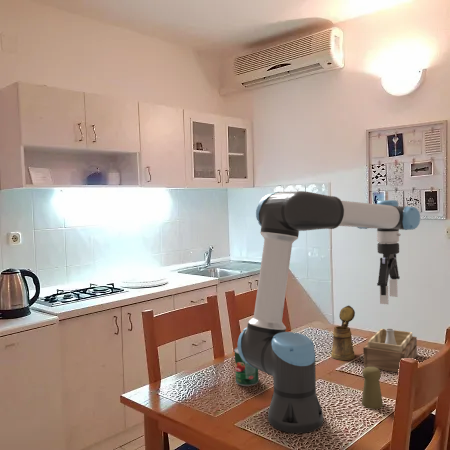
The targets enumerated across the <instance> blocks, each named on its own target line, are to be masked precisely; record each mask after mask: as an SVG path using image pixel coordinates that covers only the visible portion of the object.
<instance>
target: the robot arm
mask: <svg viewBox="0 0 450 450" xmlns="http://www.w3.org/2000/svg"><path fill="white" fill-rule="evenodd" d="M255 211H256V212H255V218H256V221H257V222H258V225H259V226H260V232H259V233H260V234H261V236H262V238H263V239H264V240H263V247H262V255H261V262H260V263H261V264H260V267H259V268H260V269H259V276H258V282H257V283H258V284H257V291H256V296H255V297H256V299H255V305H254V311H253V317H252V318H250V319H249V320H248V321H247V325H246V327H245V328H243V330H242V331H241V332H240V334H239V336H238V339H237V347H238V352H239V355H240V357H241V358H242V360H243V361H244V362H246V363H247V364H249V365H250V366H251V367H253V368H256V369H258V371H261V372H264V373H265V374H268V375H269V376H272V377H273V379H272V380H273V394H272V397H271V402H270V404H269V408H268V411H267V415H268V416H267V419H268V423H269V424H270V425H271V426H272V427H273V428H275V429H277V430H279V431H281V432H286V433H289V434H290V433H292V434H304V433H311V432H314V431H317V430H318V429H319V428H321V427H322V426H323V423H324V412H323V409H322V406H321V404H320V401H319V399H318V398H319V397H318V395H317V388H316V387H317V386H316V385H317V384H316V383H317V381H316V377H317V376H316V372H317V371H316V368H317V367H316V351H315V343H314V341H312V339H311V338H310V337H308V336H307V335H305V334H302V333H300V332H293V331H287V326H285V324H284V323H283V316H284V315H283V313H284V307H285V299H286V292H287V286H288V285H287V284H288V279H289V278H288V277H289V271H290V265H291V264H290V261H291V257H292V256H291V255H292V248H293V243H294V242H295V241H297V240H298V239H299V234H300V232H302V231H303V232H305V231H314V230H315V231H316V230H325V229H326V230H327V229H328V230H335V229H337V228H339V227H353V228H357V229H360V230H361V229H364V230H368V229H377V230H376V239H377V240H376V241H377V242H378V243H377V244H376V245H377V246H376V247H377V248H376V249H377V253H378V254H381V255H382V257H379V271H378V279H377V280H378V281H377V283H376V284H377V285H376V286H378V287H379V304H380V305H389V297H393V298H394V297H395V298H398V296H399V295H398V280H400V276H399V267H398V262H397V254H399V253H400V244H399V242H400V237H401V233H400V230H401V231H408V230H409V231H410V230H416V229H417V228H418V227H419V225H420V223H421V214H420V211H419V209H418V208H417V207H415V206H408V205H407V206H399V201H398V200H394V199H389V200H388V199H387V200H378V201H377V202H376V203H369V202H367V203H366V202H358V201H347V200H341V198H339V197H337V196H333V195H327V194H323V193H322V194H321V193H315V192H311V191H304V190H298V191H277V192H271V193H268V194H266V195H264V196H263V197H262V198H261V199H260V200H259V201H258V204H257V206H256V210H255ZM388 282H389V286H388Z"/></svg>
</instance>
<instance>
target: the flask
mask: <svg viewBox="0 0 450 450" xmlns="http://www.w3.org/2000/svg"><path fill="white" fill-rule="evenodd" d="M385 329H386V331H387V336H386V341H385V343H386V344H393V345H397V344H396V341H395V337H394V331H395V330H396V329H394V328H389V327H387V328H385Z"/></svg>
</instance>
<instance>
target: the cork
mask: <svg viewBox="0 0 450 450" xmlns="http://www.w3.org/2000/svg"><path fill="white" fill-rule="evenodd" d="M381 377H382V372H381V370H380V369H378V368H376V367H364V368H363V370H362V378H363V379H364V380H363V381H364V382H363V389H362V390H363V391H362V397H361V398H362V399H361V405H362V406H363V407H364V408H366V409H370V410H378V409H379V410H380V409H382V408H383V407H384V403H383V397H382V391H381V390H382V389H381V385H380V379H381Z"/></svg>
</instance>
